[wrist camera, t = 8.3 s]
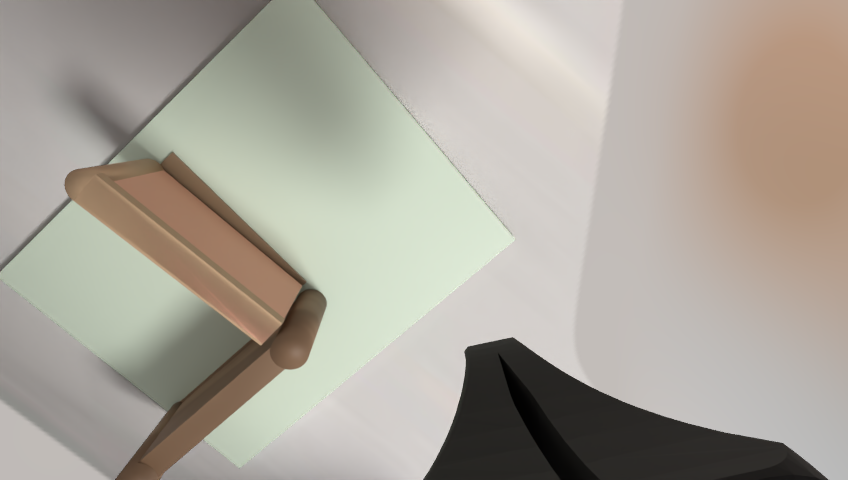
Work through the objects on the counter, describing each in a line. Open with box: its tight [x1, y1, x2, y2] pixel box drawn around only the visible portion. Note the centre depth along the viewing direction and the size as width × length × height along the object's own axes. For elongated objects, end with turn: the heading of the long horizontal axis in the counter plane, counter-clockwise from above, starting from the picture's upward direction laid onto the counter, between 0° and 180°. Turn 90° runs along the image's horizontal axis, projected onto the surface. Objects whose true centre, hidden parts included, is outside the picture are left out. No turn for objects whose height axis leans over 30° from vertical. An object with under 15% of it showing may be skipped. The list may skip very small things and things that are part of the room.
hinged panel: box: [65, 159, 302, 345], centre depth 17 cm, size 1×8×4 cm, turn 45°
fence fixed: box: [115, 289, 327, 480], centre depth 19 cm, size 1×10×4 cm, turn 131°
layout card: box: [0, 0, 516, 468], centre depth 20 cm, size 14×18×1 cm
